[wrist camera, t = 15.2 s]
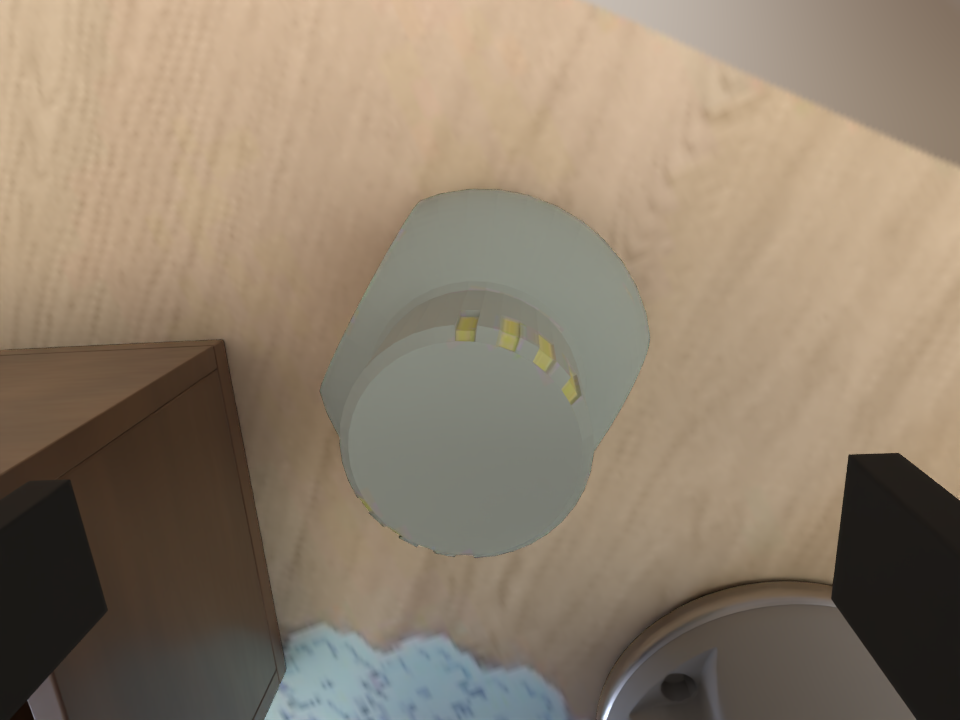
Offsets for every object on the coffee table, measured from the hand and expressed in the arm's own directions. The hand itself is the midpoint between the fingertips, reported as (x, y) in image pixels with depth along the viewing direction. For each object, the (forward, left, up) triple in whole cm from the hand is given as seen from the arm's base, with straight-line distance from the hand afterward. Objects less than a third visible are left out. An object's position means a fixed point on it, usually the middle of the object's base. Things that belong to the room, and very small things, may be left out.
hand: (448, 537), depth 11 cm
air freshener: (0, 0, -14) cm, 14 cm away
